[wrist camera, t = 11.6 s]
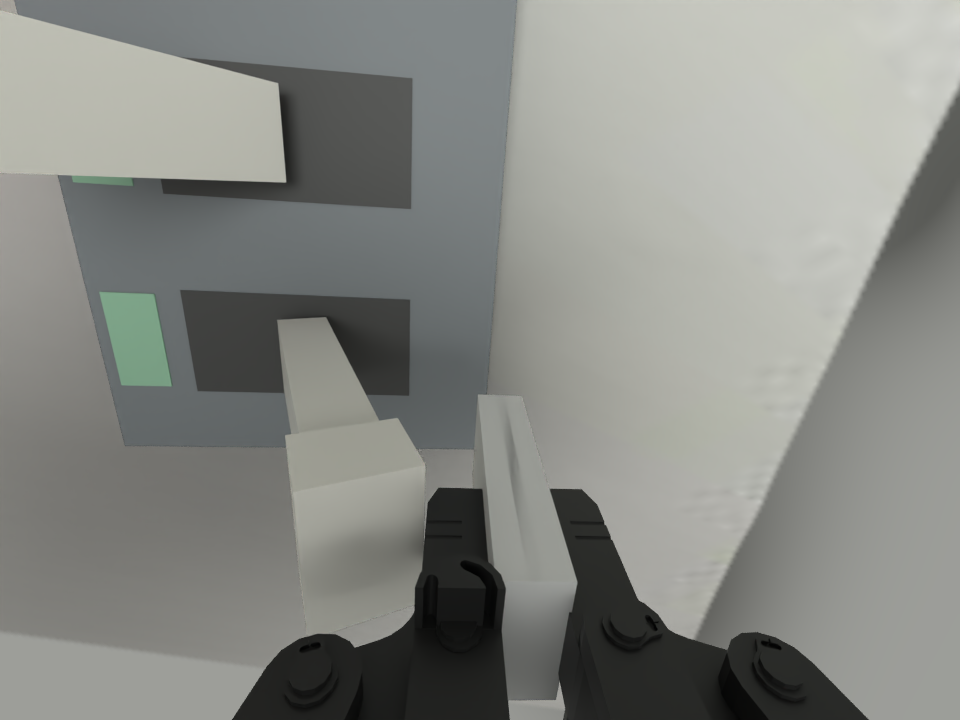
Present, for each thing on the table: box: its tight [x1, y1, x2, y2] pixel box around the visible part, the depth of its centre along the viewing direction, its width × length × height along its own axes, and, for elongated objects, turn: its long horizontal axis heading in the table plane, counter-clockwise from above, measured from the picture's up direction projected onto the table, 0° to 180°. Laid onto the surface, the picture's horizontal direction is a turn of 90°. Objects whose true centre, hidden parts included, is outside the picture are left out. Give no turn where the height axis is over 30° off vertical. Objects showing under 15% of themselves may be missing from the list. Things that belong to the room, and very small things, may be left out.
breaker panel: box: [14, 0, 517, 449], centre depth 18 cm, size 16×26×3 cm, turn 176°
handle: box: [0, 10, 286, 183], centre depth 11 cm, size 2×4×12 cm
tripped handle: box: [277, 317, 426, 637], centre depth 14 cm, size 2×4×12 cm, turn 176°
